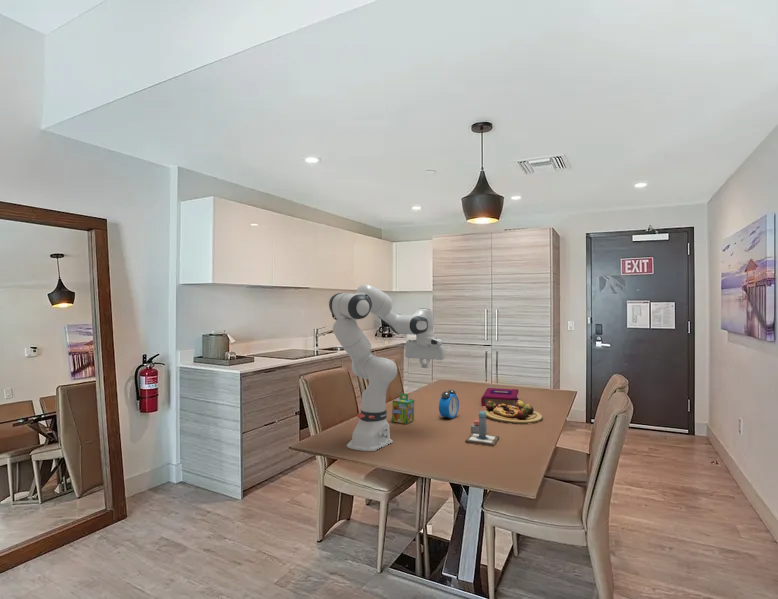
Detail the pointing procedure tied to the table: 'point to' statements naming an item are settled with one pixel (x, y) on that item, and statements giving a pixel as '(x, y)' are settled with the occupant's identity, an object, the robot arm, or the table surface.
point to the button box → (476, 429)
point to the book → (500, 396)
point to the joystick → (482, 424)
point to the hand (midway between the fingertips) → (424, 367)
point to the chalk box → (403, 409)
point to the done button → (476, 422)
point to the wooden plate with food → (512, 413)
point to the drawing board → (488, 440)
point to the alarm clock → (448, 404)
